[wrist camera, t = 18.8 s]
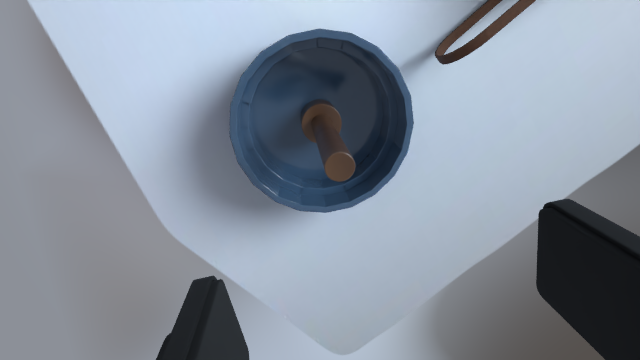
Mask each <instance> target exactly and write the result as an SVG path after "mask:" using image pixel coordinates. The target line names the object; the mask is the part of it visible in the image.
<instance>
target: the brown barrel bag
mask: <svg viewBox="0 0 640 360" xmlns="http://www.w3.org/2000/svg"><path fill="white" fill-rule="evenodd" d="M501 1H502V0H488V1H487V2H486V3H485V4H484V5H483V6H481V7H480V8H479V9H478V10H477V11H476V12H475V13H473V14H472V15H471V16H470V17H469V18H468V19H467V20H465V21H464V22H463V23H462V24H461V25H460V26H459V27H457V28H456V29H455V30H454V31H453V32H452V33H451V34H450V35H449V36H448V37H447V38H446V39H444V40H443V42H442V43H441V44H440V45H439V46H438V48H437V50H436V52H435V56H436V58H437V59H438V61H439V62H440V63H441V64H449V63H452V62H455V61H457V60H459V59H461V58H463V57H465V56H467V55H468V54H470V53H471V52H473V51H474V50H476V49H477V48H479V47H480V46H482V45H483V44H484V43H485V42H487V41H488V40H489V39H490V38H492V37H493V36H494V35H495V34H496V33H498V32H499V31H500V30H501V29H502V28H504V27H505V26H506V25H507V24H508V23H509V22H511V21H512V20H513V19H514V18H515V17H517V16H518V15H519V14H520V13H521V12H523V11H524V10H525V9H526V8H527V7H529V6H530V5H531V4H532V3H533V2H535V1H536V0H519V1H518V2H517V3H516V4H514V5H513V6H512V7H511V8H510V9H508V10H507V11H506V12H505V13H504V14H503V15H501V16H500V17H499V18H498V19H497V20H495V21H494V22H493V23H492V24H491V25H490V26H488V27H487V28H486V29H485V30H484V31H482V32H481V33H480V34H479V35H477V36H476V37H475V38H474V39H472V40H471V41H469V42H468V43H466V44H465V45H464V46H462V47H460V48H458V49H457V50H455V51H453V52H451V53H448V54H446V55H444V53H445V52H446V50H447V49H448V48H449V47H450V46H451V45H452V44H453V43H454V42H455V41H456V40H457V39H458V38H459V37H461V36H462V35H463V34H464V33H465V32H466V31H467V30H469V29H470V28H471V27H472V26H473V25H474V24H475V23H477V22H478V21H479V20H480V19H481V18H482V17H484V16H485V15H486V14H487V13H488V12H489V11H490V10H492V9H493V8H494V7H495V6H496V5H497V4H499V3H500V2H501Z"/></svg>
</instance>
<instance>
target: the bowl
mask: <svg viewBox="0 0 640 360" xmlns="http://www.w3.org/2000/svg"><path fill="white" fill-rule="evenodd" d="M316 99H322V100H326V101H328V102H330V103H331V104H332V105H333V106H334V107H335V109H336V110H337V111H338V113H339V114H340V117H341V121H342V126H341V130H340V133H339V135H340V136H341V138H342V140H343V142H344V143H345V145H346V147H347V149H348V150H349V152H350V154H351V155H352V157H353V159H354V161H355V171H354V173H353V175H352V176H351V177H350V178H349V179H347V180H345V181H341V182H337V181H333V180H331V179H330V178H329V177H328V176H327V175H326V173H325V170H324V167H323V163H322V160H321V156H320V153H319V150H318V146H317V143H314V142H312V141H310V140H309V139H308V138H307V137H306V136H305V135H304V133H303V130H302V126H301V119H300V117H301V112H302V110H303V108H304V107H305V105H306V104H307V103H309V102H310V101H313V100H316ZM413 124H414V122H413V112H412V102H411V95H410V93H409V90H408V88H407V86H406V84H405V82H404V79H403V77H402V75H401V73H400V70H399V69H398V67H397V66H396V65H395V64H394V63H393V62H392V61H391V60H390V59H389V58H388V57H387V56H386V55H385V54H384V53H383V52H382V50H381V49H380V48H379V47H377V46H375V45H373V44H372V43H370V42H368V41H366V40H364V39H362V38H360V37H358V36H356V35H354V34H352V33H348V32H341V31H333V30H326V29H315V30H311V31H306V32H301V33H297V34H292V35H288V36H286V37H285V38H283V39H281V40H280V41H278V42H276V43H275V44H273V45H271V46H270V47H268V48H267V49H265V50H263V51H262V52H261V53H260V54H259V55H258V56H257V57H256V59H255V60H254V61H253V62H252V63H251V65H250V66H249V67H248V68H247V70H246V71H245V72H244V73H243V74H242V76H241V77H240V80H239V83H238V86H237V88H236V91H235V94H234V96H233V99H232V102H231V105H230V131H229V134H230V138H231V142H232V145H233V148H234V152H235V155H236V158H237V161H238V163H239V165H240V166H241V168H242V169H243V171H244V172H245V173H246V175H247V176H248V178H249V179H250V181H251V182H252V184H253V185H254V186H256V187H257V188H258V189H260V190H261V191H262V192H263V193H265V194H266V195H267V196H269V197H270V198H271V199H272V200H274V201H275V202H278V203H280V204H283V205H286V206H288V207H291V208H293V209H296V210H299V211H310V212H324V213H327V212H332V211H336V210H341V209H346V208H350V207H353V206H355V205H357V204H359V203H360V202H362V201H364V200H366V199H368V198H370V197H372V196H373V195H375V194H376V193H377V192H378V191H379V190H380V189H381V188H382V187H383V186H384V185H385V184H386V183H388V182H389V181H390V180H391V179H392V178H393V177H394V175H395V174H396V172H397V171H398V169H399V167H400V165H401V163H402V161H403V160H404V158H405V156H406V154H407V152H408V149H409V144H410V139H411V134H412V130H413Z"/></svg>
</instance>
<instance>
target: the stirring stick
mask: <svg viewBox="0 0 640 360" xmlns="http://www.w3.org/2000/svg"><path fill="white" fill-rule="evenodd" d="M300 119H301V126H302V130H303V133H304V135H305V136H306V137H307V138H308V139H309V140H310V141H312V142H314V143H317V146H318V150H319V153H320V156H321V160H322V163H323V167H324V170H325V173H326V175H327V176H328V177H329V178H330V179H331V180H333V181H337V182H341V181H345V180H347V179H349V178H350V177H351V176H352V175H353V173H354V171H355V161H354V159H353V157H352V155H351V154H350V152H349V150H348V149H347V147H346V145H345V143H344V142H343V140H342V138H341V136H340V135H339V133H340V130H341V126H342V121H341V117H340V114H339V113H338V111H337V110H336V109H335V107H334V106H333V105H332V104H331V103H330V102H328V101H326V100H322V99H316V100H313V101H310V102H309V103H307V104H306V105H305V107H304V108H303V110H302V112H301V117H300Z"/></svg>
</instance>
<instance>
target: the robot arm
mask: <svg viewBox="0 0 640 360" xmlns="http://www.w3.org/2000/svg"><path fill="white" fill-rule="evenodd" d="M538 222H539V223H538V251H537V280H536V284H537V289H538V292H539V293H540V295H541V296H542V298H543V299H544V300H545V301H547V302H548V304H550V305H551V307H553V308H554V309H555V310H556V311H557V312H558V313H559V314H560V315H561V316H562V317H563V318H564V319H565V320H566V321H567V322H568V323H569V324H570V325H571V326H572V327H573V328H574V329H575V330H576V331H577V332H578V333H579V334H580V335H581V336H582V337H583V338H584V339H585V340H586V341H587V342H588V343H589V344H590V345H591V346H592V347H593V348H594V349H595V350H596V351H597V352H598V353H599V354H600V355H601V356H602V357H603V358H604V359H605V360H640V237H639V236H637V235H636V234H634V233H632V232H630V231H628V230H626V229H624V228H623V227H621V226H619V225H617V224H615V223H613V222H611V221H610V220H608V219H606V218H604V217H602V216H600V215H598V214H596V213H595V212H593V211H591V210H589V209H587V208H586V207H584V206H582V205H580V204H578V203H576V202H574V201H573V200H570V199H563V200H558V201H554V202H549V203H546V204H545V205H544V207H543V209H542V210H540V212H539V221H538ZM156 360H249V351H248V347H247V345H246V342H245V339H244V336H243V333H242V331H241V328H240V325H239V322H238V320H237V317H236V314H235V312H234V309H233V306H232V303H231V301H230V298H229V295H228V293H227V290H226V287H225V284H224V282H223V280H221V279H220V280H217V279H216V278H215V276H210V277H205V278H201V279H196V280H194V281H193V282H192V284H191V286H190V289H189V291H188V293H187V296H186V299H185V301H184V303H183V306H182V308H181V311H180V313H179V315H178V318H177V320H176V323H175V325H174V327H173V330H172V332H171V333H170V334H169V335H168V336H167V337H166V338H165V340H164V342H163V345H162V347H161V349H160V352H159V354H158V357H157V358H156Z"/></svg>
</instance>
